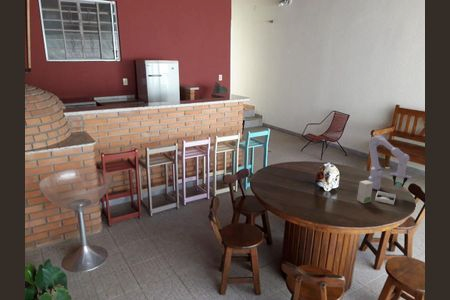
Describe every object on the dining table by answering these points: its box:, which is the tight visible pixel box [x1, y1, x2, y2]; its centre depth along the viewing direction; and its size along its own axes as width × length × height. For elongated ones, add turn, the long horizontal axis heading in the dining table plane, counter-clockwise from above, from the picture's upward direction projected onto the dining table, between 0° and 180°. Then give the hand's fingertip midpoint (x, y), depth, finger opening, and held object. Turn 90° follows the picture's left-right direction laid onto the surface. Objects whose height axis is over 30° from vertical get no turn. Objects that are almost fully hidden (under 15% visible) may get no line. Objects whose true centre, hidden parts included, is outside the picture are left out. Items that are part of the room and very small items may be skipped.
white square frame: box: [374, 190, 396, 206], centre depth 242 cm, size 13×13×3 cm
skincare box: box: [356, 179, 373, 204], centre depth 237 cm, size 8×7×16 cm
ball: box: [394, 181, 403, 189], centre depth 245 cm, size 5×5×5 cm
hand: (398, 185), depth 246 cm, fingers closed on ball, 5 cm apart
